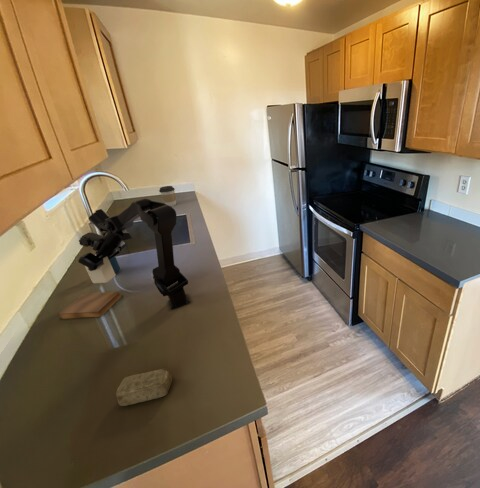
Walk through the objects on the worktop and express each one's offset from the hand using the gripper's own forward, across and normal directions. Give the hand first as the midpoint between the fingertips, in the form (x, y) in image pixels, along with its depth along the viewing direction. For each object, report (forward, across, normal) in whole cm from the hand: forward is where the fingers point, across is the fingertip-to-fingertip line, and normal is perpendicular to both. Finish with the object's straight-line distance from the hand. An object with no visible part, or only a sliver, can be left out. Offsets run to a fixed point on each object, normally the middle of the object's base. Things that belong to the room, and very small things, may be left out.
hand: (95, 266), depth 110 cm
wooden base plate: (+8, +10, +10) cm, 16 cm away
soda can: (+15, -16, +3) cm, 22 cm away
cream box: (+3, 0, +5) cm, 6 cm away
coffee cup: (+31, -127, -13) cm, 131 cm away
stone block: (-22, +49, +40) cm, 67 cm away
